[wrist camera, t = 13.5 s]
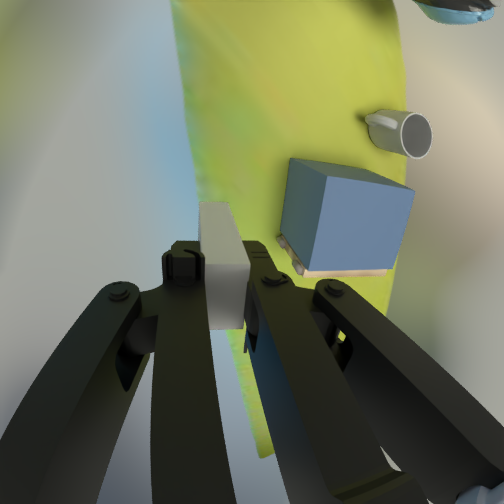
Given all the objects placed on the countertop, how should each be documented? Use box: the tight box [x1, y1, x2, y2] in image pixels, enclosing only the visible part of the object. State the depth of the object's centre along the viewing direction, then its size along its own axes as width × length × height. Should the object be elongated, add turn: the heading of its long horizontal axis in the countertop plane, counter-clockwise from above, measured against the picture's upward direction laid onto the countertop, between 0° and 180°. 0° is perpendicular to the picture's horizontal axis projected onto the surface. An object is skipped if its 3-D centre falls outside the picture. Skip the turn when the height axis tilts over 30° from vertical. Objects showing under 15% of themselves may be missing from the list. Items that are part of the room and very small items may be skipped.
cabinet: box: [280, 158, 415, 271], centre depth 39 cm, size 12×14×13 cm
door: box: [277, 235, 387, 277], centre depth 42 cm, size 1×15×11 cm, turn 83°
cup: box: [365, 110, 433, 159], centre depth 36 cm, size 7×10×9 cm
